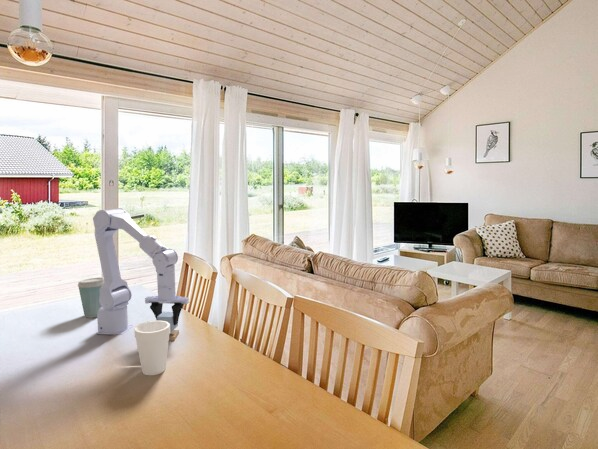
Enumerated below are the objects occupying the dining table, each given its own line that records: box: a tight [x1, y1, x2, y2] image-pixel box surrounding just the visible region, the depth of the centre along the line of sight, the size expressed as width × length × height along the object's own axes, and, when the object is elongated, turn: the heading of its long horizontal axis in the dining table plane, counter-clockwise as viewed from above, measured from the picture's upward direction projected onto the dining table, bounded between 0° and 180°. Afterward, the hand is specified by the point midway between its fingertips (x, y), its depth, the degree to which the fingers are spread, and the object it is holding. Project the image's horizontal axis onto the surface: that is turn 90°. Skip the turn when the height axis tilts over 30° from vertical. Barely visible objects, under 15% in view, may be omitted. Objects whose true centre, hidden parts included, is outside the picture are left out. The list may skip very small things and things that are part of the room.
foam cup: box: [133, 320, 170, 376], centre depth 110 cm, size 10×9×13 cm
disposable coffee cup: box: [77, 276, 104, 319], centre depth 155 cm, size 11×11×15 cm
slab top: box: [169, 329, 180, 341], centre depth 133 cm, size 6×6×1 cm
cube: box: [156, 311, 179, 332], centre depth 132 cm, size 5×5×5 cm
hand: (167, 323), depth 133 cm, fingers closed on cube, 5 cm apart
